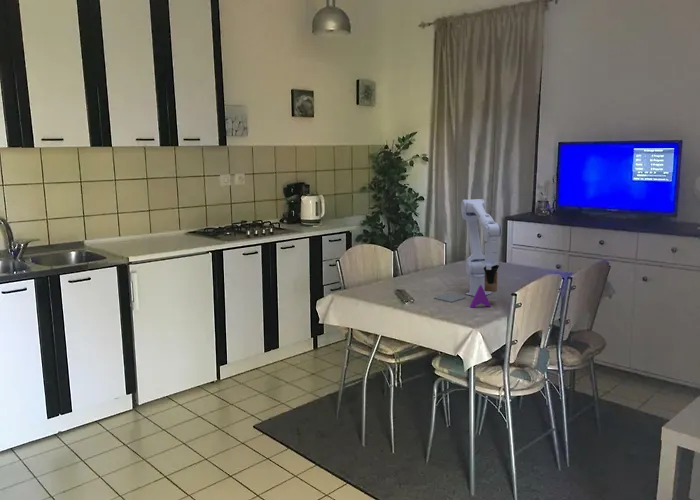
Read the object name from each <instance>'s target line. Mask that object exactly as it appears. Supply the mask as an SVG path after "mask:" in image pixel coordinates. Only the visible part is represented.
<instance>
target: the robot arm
mask: <svg viewBox="0 0 700 500" xmlns="http://www.w3.org/2000/svg"><path fill="white" fill-rule="evenodd" d="M485 202H486V201H485V200H484V199H483V198H479V199H473V198H472V199H462V201H461V203H460V211H461V216H462V220H465V225H466V229H467V237H468V242H469V250H470V255H469V256H468V257H467V258H466V260H465V271H466V274H467V276H469V292H466V293H465V295H468V296H473V297H474V296H475V294H476V292H477V290H478V288H479V286H480V285H481V286H482V288H483V290H484V287H485V273H486V277H487V282H488V284H493V282H494V277H495V273H496V272H497V273H498V269H499V267H500V265H499V263H500V262H499V250H500V249H499V246H500V237H501V235H502V226H501V224H500V223H499V222H496V221H495V220H494V218H493V217H492V216H491V214H489V213H487V212H486V203H485ZM478 223H479V224H478ZM478 225H480V226H481V228H482V235H483V241H484V254H483V253H482V246H481V239H480V234H479V226H478ZM484 292H485V294H486V296H487V295H490V294H492V292H491V291H484Z"/></svg>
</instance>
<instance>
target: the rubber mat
mask: <svg viewBox="0 0 700 500" xmlns="http://www.w3.org/2000/svg"><path fill="white" fill-rule="evenodd" d="M433 299H434V300H438V301H442V302H447V303H455V302H458V301H461V300H464V299H466V296H463V295H456V294H452V293H445V294H441V295H438V296H435V297H433Z"/></svg>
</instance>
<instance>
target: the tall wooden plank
mask: <svg viewBox="0 0 700 500" xmlns="http://www.w3.org/2000/svg"><path fill="white" fill-rule="evenodd" d="M484 291H490V292H491V293H497V292H498V271H497V272H496V273H495V277H494V282H493V284H488V282H487V277H486V273H485V287H484Z"/></svg>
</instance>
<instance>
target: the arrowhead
mask: <svg viewBox="0 0 700 500" xmlns="http://www.w3.org/2000/svg"><path fill="white" fill-rule="evenodd" d="M480 304H481V305H483V306H487V307H489V308H492V305H491V303H490V300H489V298H488V297H487V295H486V294H485V292H484V290H483V288H482V286H481V285H480V286H479V288H478V290H477V292H476V294H475V296H473V298H472V301H470V305H469V308H470V309H471V308H472V309H473V308H474V307H477V306H478V305H480Z"/></svg>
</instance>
